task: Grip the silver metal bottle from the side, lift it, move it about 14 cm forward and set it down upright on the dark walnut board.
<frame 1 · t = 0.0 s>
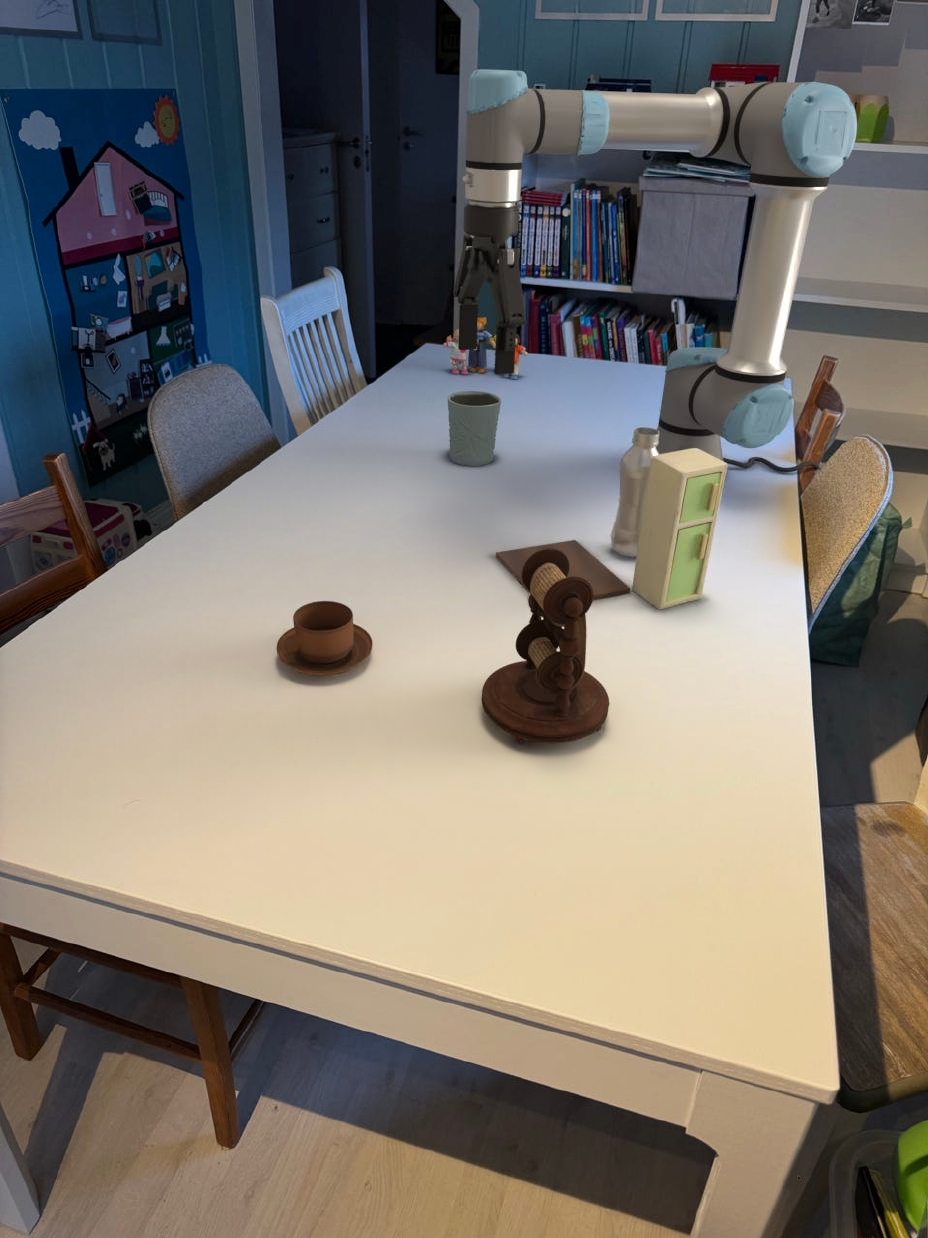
hand: (485, 360, 131), 28 cm above the table, tool pointing down, fingers open, 13 cm apart
wooden spool stand: (543, 714, 104), on the table
silver metal bottle: (629, 553, 141), on the table
cup and saucer: (325, 658, 113), on the table
doll family: (486, 372, 226), on the table
toy refrigerator: (667, 597, 129), on the table
walnut board: (560, 574, 134), on the table
green embossed cup: (472, 458, 174), on the table
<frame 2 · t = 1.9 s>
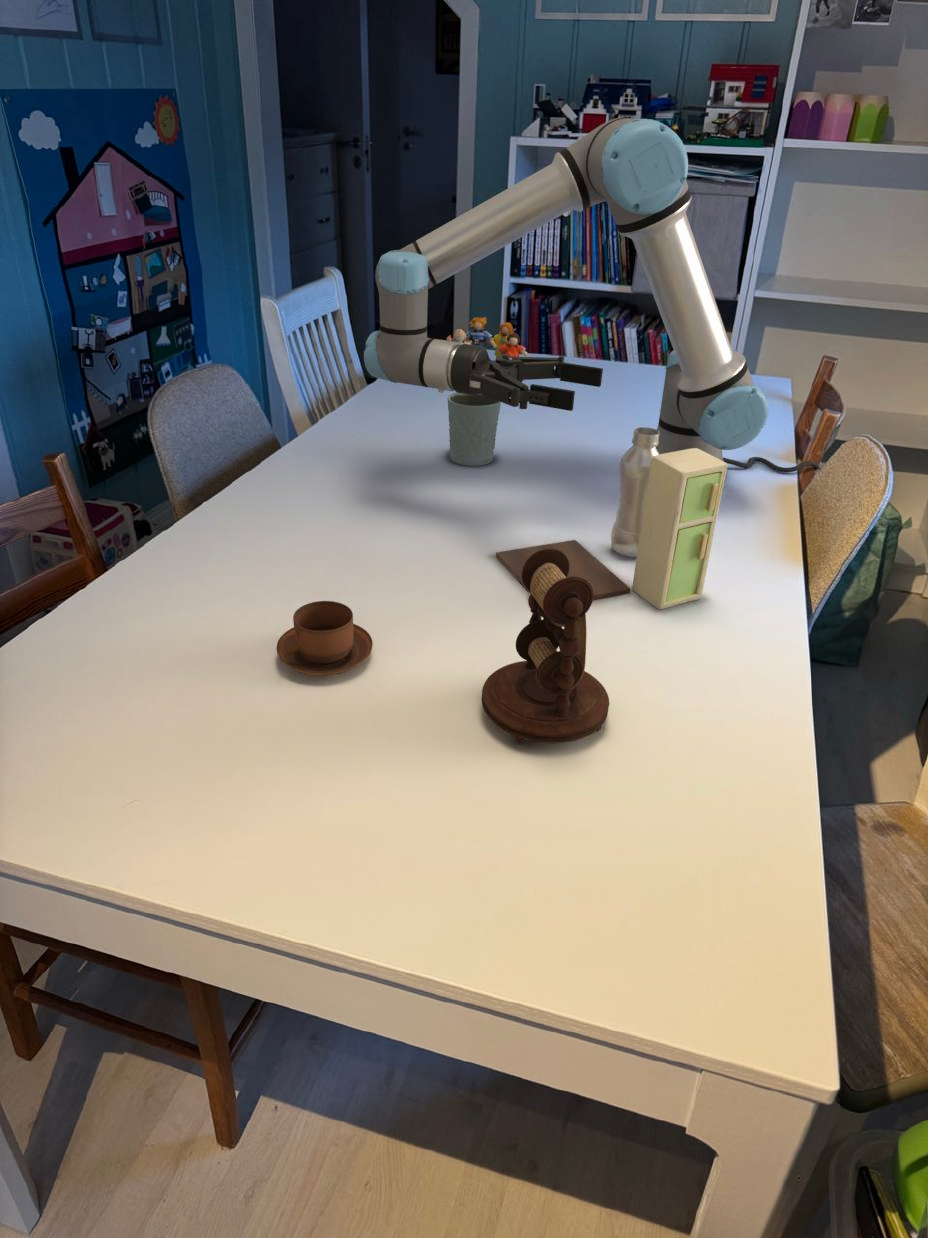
hand: (588, 388, 131), 25 cm above the table, tool horizontal, fingers open, 13 cm apart
nothing on the table moved.
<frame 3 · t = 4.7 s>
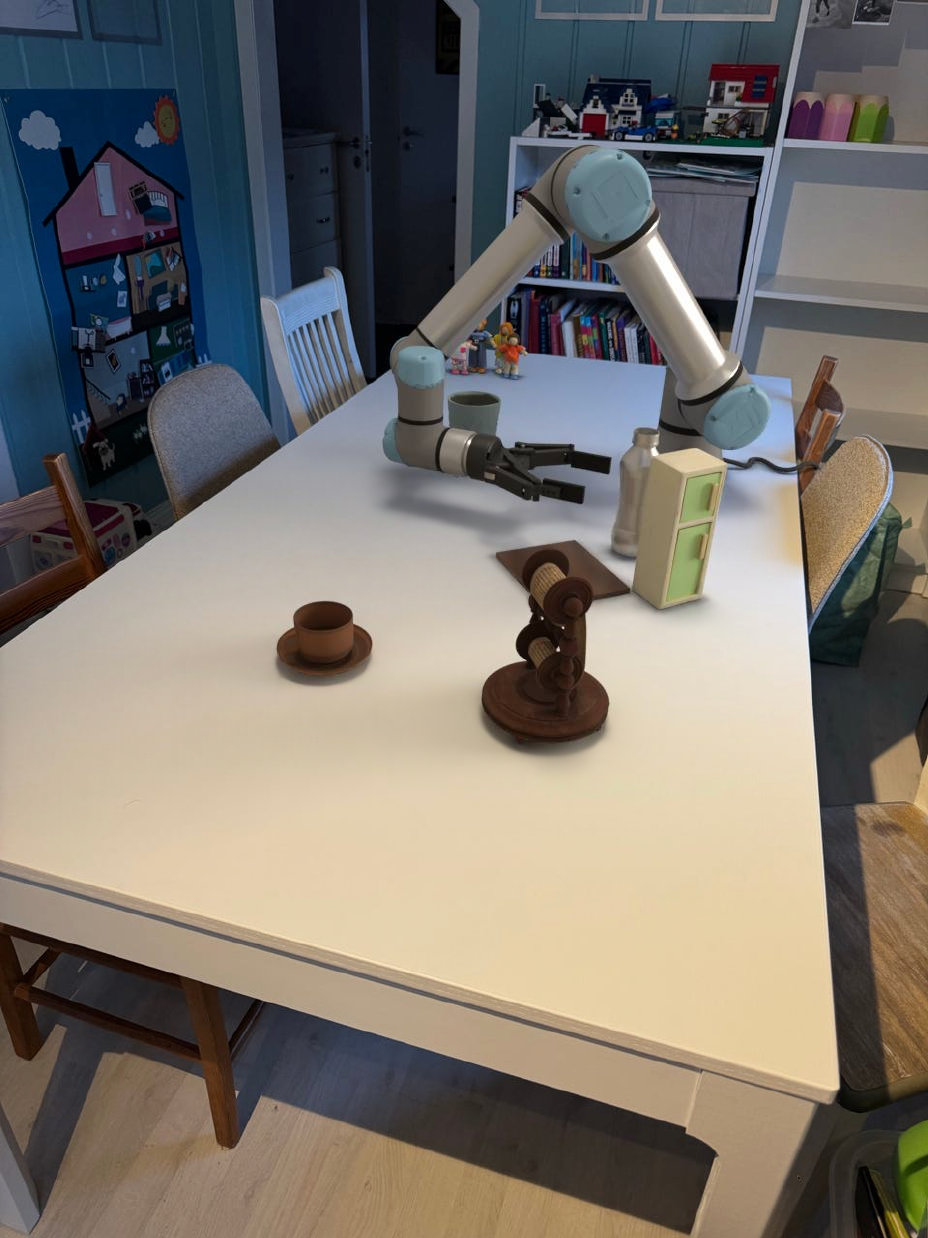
hand: (597, 480, 137), 11 cm above the table, tool horizontal, fingers open, 13 cm apart
nothing on the table moved.
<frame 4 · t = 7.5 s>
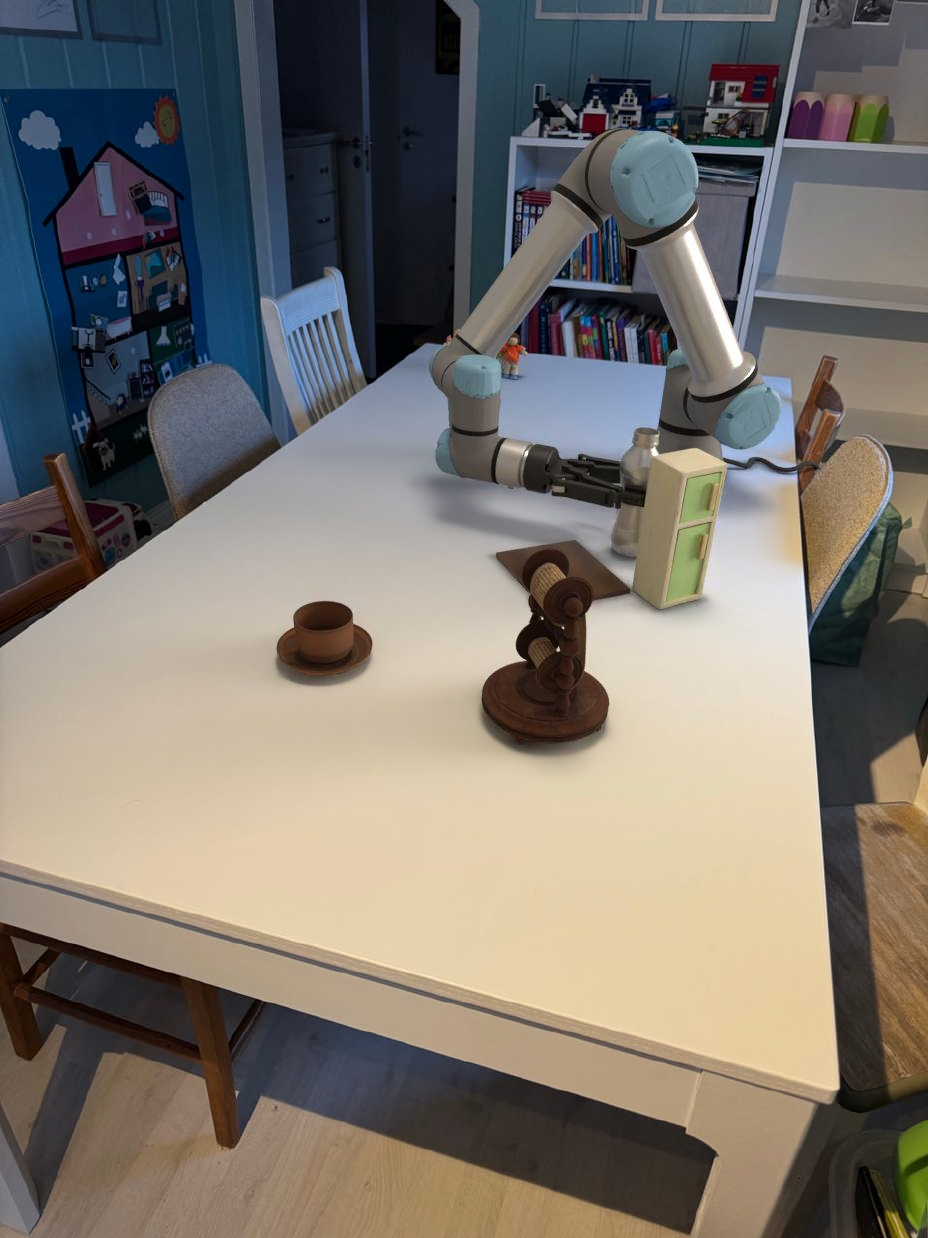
hand: (672, 494, 133), 11 cm above the table, tool horizontal, fingers closed on silver metal bottle, 6 cm apart
silver metal bottle: (629, 553, 141), on the table, touching gripper
everything else where it was.
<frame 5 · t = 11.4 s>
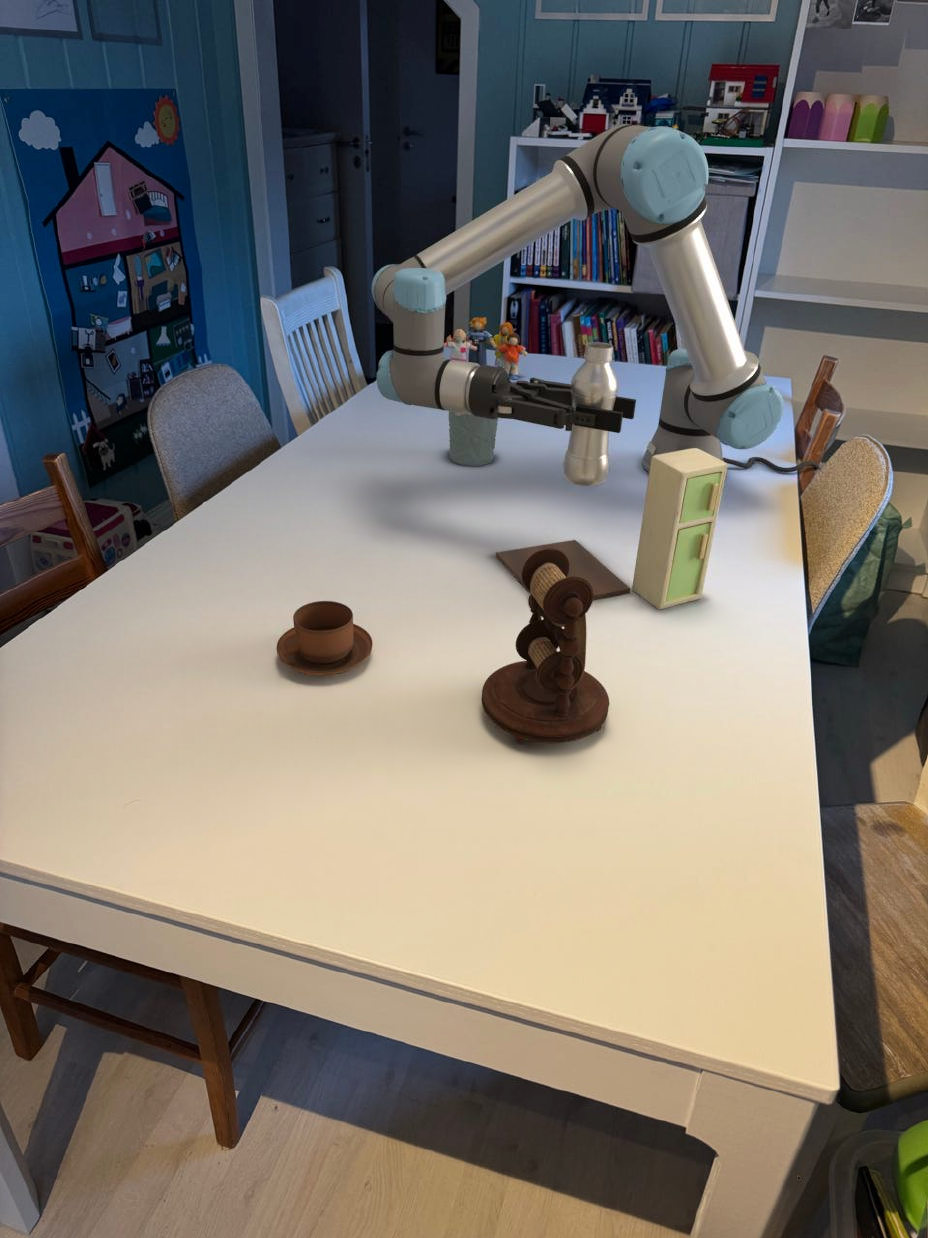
hand: (627, 415, 123), 24 cm above the table, tool horizontal, fingers closed on silver metal bottle, 6 cm apart
silver metal bottle: (584, 483, 131), point 13 cm above the table, touching gripper
everything else where it was.
when the fingers open (12 cm above the table, at t = 15.6 s): silver metal bottle stays where it is, resting on walnut board.
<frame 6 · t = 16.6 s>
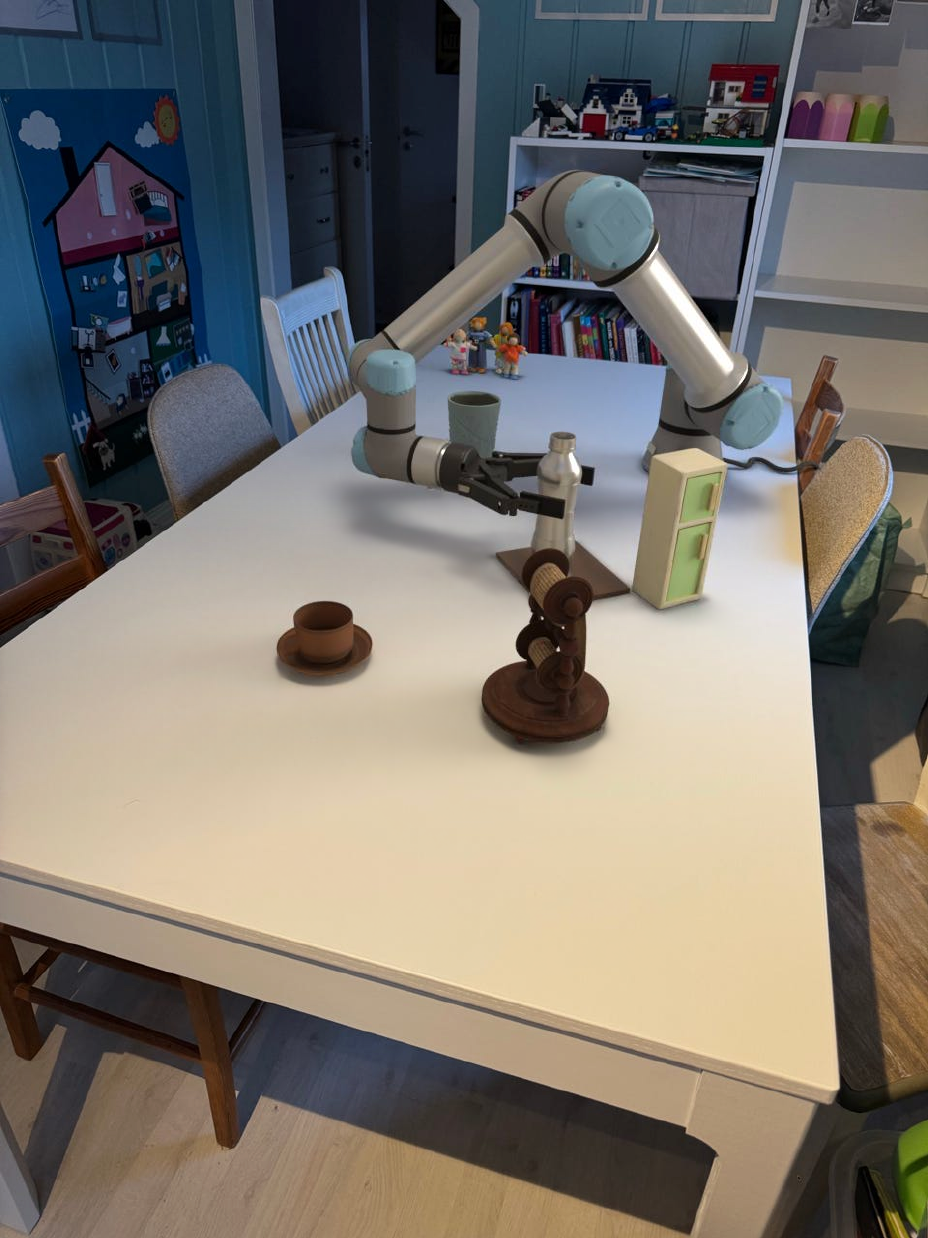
hand: (579, 492, 128), 13 cm above the table, tool horizontal, fingers open, 13 cm apart
silver metal bottle: (551, 562, 136), point 1 cm above the table, touching walnut board
everything else where it was.
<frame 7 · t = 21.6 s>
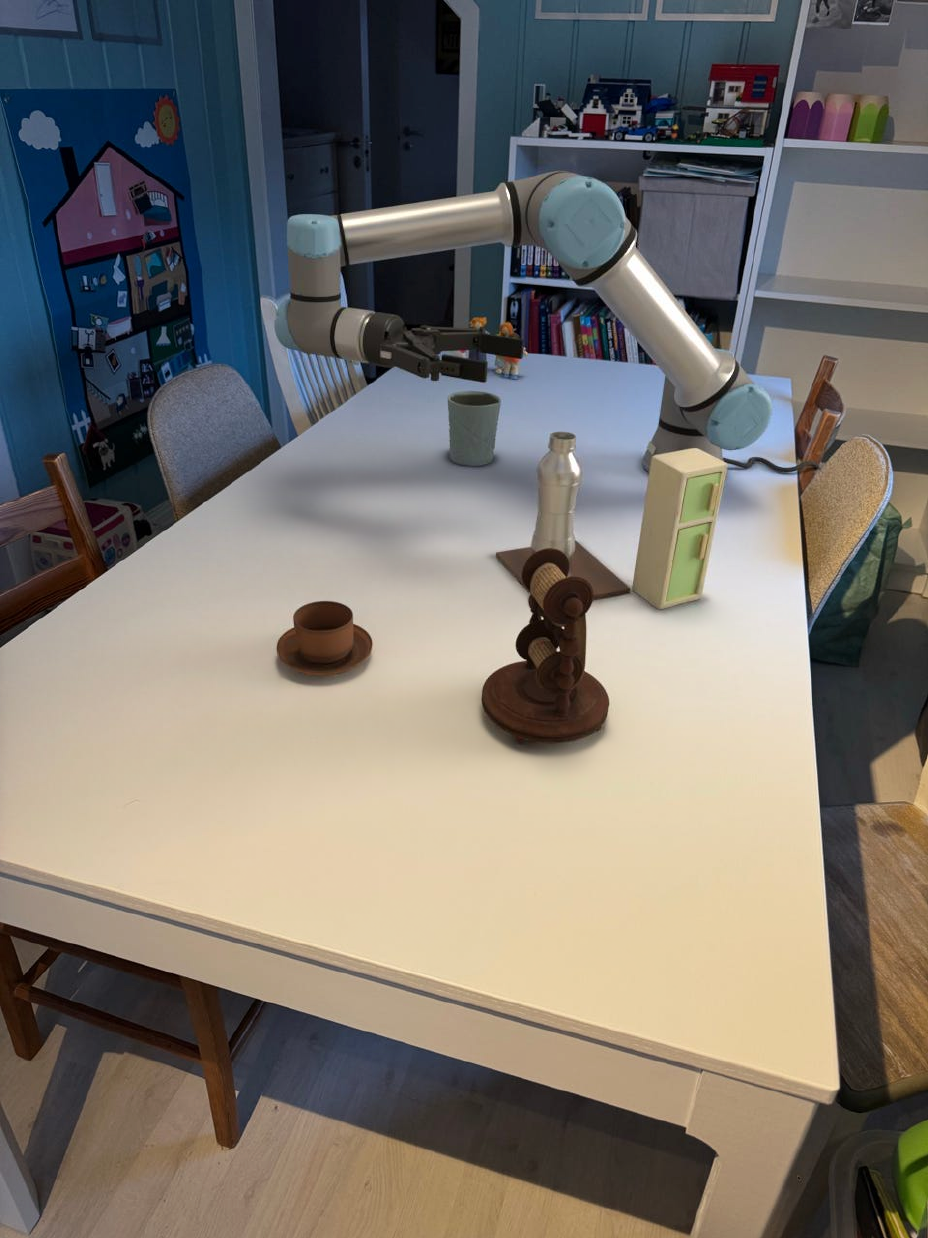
hand: (505, 360, 124), 30 cm above the table, tool horizontal, fingers open, 13 cm apart
nothing on the table moved.
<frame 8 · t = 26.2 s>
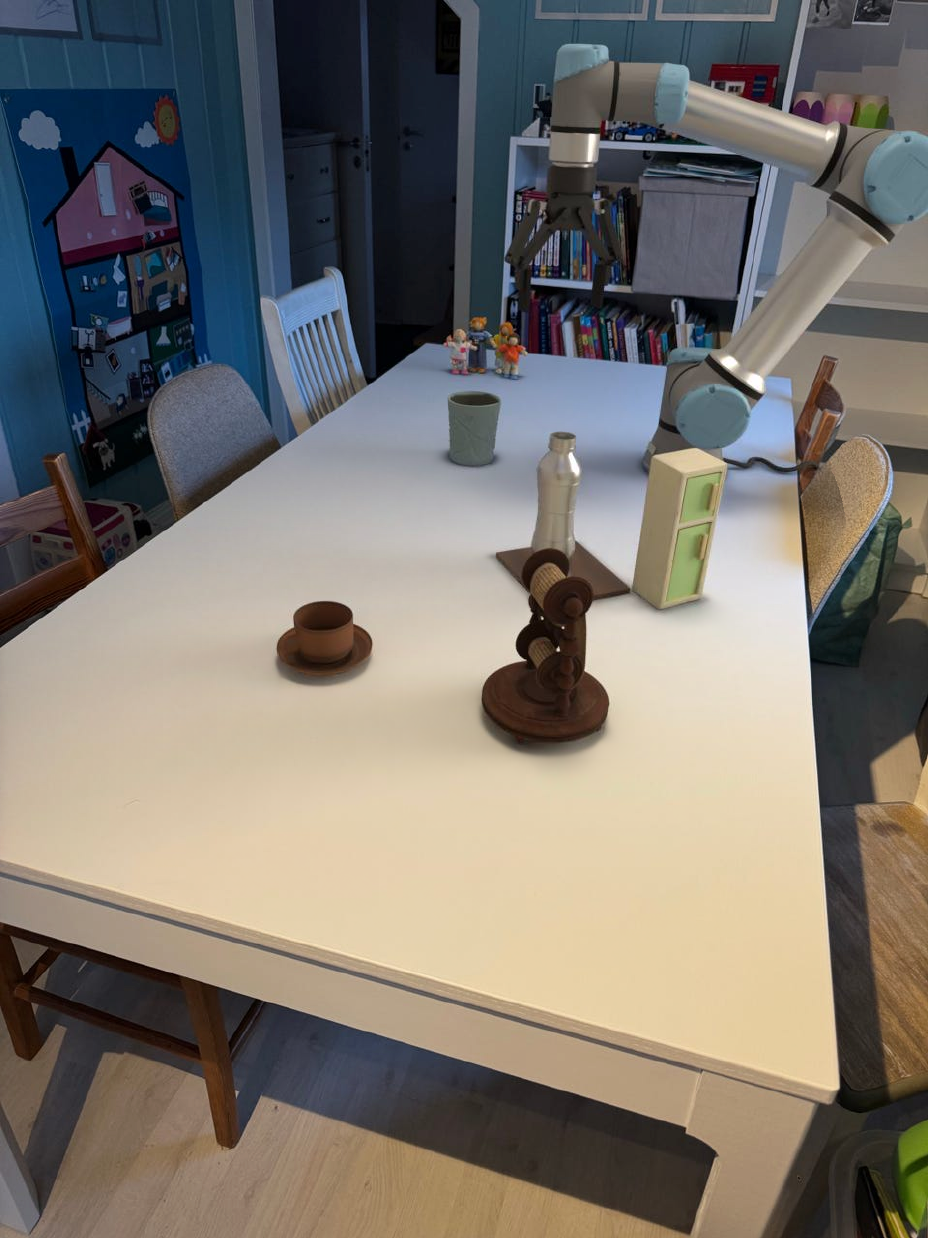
hand: (560, 308, 146), 32 cm above the table, tool pointing down, fingers open, 13 cm apart
nothing on the table moved.
at the end: silver metal bottle inside the target area (0.1 cm from its centre), point 0.6 cm above the table; silver metal bottle tilted 0°; the gripper is holding nothing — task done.
